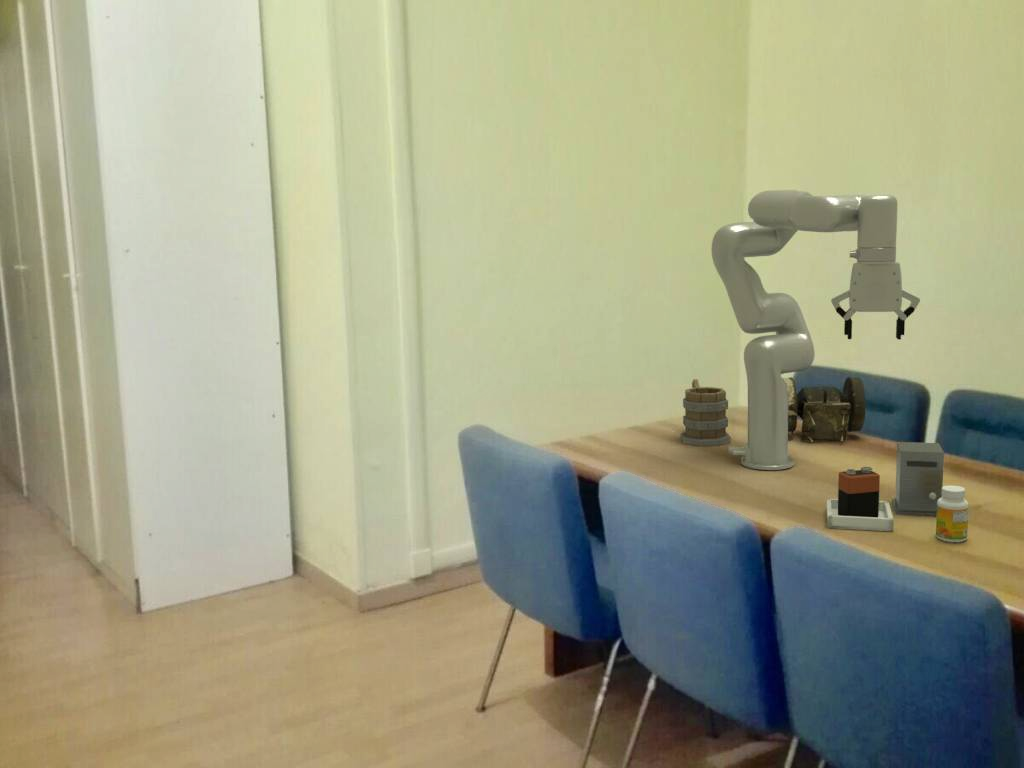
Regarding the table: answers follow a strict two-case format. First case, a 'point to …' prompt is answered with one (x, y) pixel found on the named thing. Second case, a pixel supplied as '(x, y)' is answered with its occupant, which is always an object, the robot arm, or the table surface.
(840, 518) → the tray
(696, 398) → the tankard
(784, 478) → the table surface
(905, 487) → the control box
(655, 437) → the table surface
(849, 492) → the battery
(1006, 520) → the table surface
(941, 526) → the supplement bottle
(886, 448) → the table surface
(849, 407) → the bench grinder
